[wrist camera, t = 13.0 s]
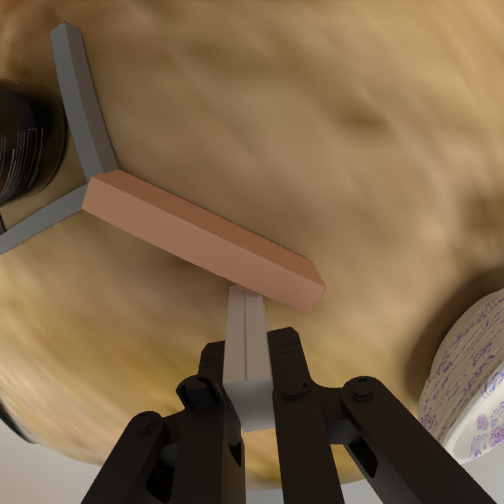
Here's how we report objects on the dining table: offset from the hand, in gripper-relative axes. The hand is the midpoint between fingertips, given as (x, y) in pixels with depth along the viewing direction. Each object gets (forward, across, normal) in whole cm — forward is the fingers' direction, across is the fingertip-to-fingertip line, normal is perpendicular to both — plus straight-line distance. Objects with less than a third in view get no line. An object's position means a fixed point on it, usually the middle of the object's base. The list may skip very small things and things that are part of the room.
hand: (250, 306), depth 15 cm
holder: (+1, -7, +8) cm, 10 cm away
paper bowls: (+2, +17, -10) cm, 20 cm away
